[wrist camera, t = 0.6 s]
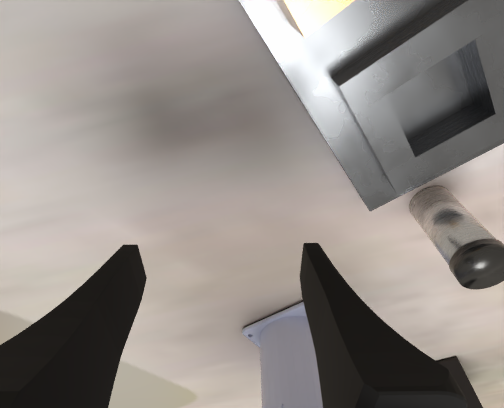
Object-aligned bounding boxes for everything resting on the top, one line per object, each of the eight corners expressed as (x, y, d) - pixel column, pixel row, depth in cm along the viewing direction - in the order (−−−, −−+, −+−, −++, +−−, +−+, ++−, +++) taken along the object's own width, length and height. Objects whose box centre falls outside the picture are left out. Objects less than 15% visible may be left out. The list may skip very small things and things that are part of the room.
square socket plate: (539, 110, 20) (639, 152, 15) (364, 202, 24) (396, 260, 19) (448, -359, 11) (628, -671, 6) (186, -87, 15) (153, -126, 10)
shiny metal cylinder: (456, 206, 24) (522, 274, 19) (416, 226, 25) (466, 296, 20) (444, 177, 23) (511, 241, 17) (402, 199, 24) (451, 266, 18)
